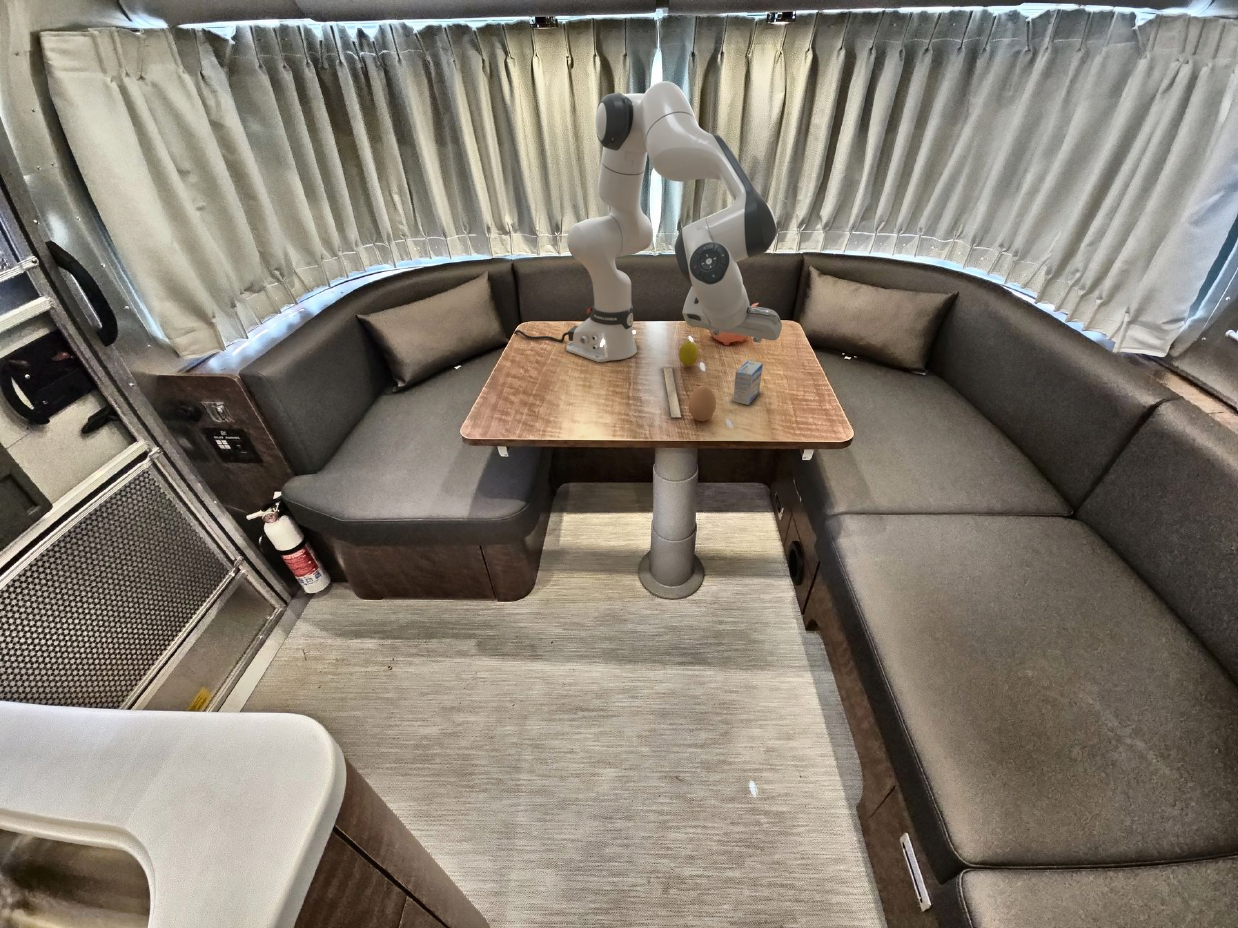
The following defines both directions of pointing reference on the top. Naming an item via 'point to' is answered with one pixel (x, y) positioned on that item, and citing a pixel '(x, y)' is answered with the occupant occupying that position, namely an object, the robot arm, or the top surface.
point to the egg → (702, 403)
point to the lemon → (688, 353)
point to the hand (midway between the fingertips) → (737, 335)
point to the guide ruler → (671, 393)
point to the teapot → (730, 335)
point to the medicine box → (747, 382)
